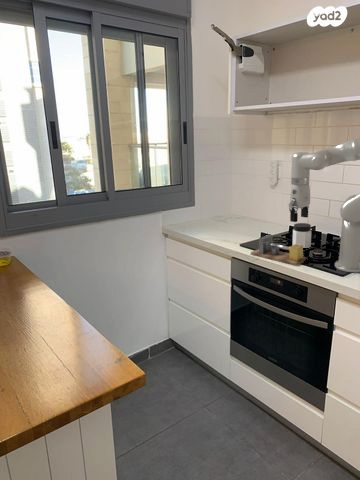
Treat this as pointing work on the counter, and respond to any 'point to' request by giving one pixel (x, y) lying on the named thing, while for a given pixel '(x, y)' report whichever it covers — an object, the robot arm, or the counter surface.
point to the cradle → (275, 251)
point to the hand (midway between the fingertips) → (299, 219)
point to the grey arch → (265, 244)
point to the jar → (302, 235)
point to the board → (279, 257)
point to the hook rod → (292, 251)
